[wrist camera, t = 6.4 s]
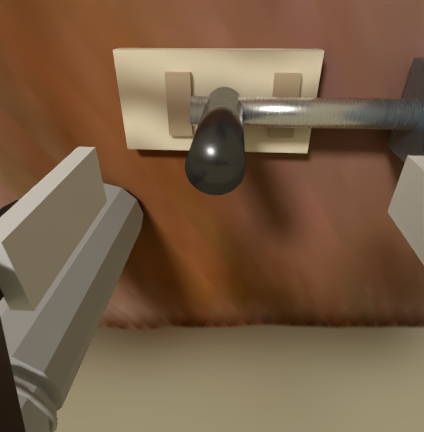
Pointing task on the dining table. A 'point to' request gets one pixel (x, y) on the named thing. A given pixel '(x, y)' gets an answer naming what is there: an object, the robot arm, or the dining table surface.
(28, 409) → the water bottle
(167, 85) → the panel
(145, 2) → the dining table surface
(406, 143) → the metal lever handle
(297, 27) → the dining table surface
